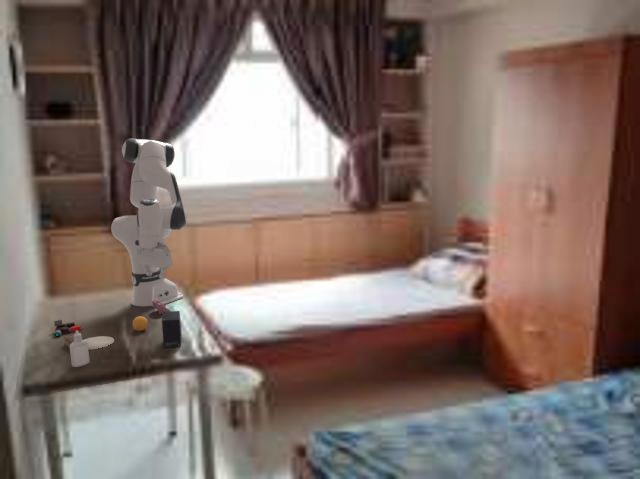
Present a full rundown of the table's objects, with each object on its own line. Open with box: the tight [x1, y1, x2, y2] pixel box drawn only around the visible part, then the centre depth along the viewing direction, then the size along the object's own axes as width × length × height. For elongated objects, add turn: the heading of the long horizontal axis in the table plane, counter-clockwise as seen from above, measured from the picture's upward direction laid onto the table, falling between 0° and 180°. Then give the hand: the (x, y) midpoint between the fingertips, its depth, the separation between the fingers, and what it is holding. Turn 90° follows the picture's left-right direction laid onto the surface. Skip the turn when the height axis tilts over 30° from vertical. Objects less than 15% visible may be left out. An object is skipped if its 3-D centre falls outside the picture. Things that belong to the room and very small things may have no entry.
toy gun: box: [53, 319, 82, 338], centre depth 244 cm, size 10×12×5 cm
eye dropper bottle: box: [69, 330, 90, 368], centre depth 210 cm, size 4×6×12 cm
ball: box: [132, 315, 149, 332], centre depth 242 cm, size 6×6×6 cm
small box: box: [161, 310, 182, 349], centre depth 228 cm, size 11×6×10 cm, turn 12°
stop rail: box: [63, 334, 74, 348], centre depth 226 cm, size 2×14×3 cm, turn 42°
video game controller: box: [151, 299, 171, 315], centre depth 263 cm, size 10×5×7 cm, turn 28°
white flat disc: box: [83, 335, 115, 351], centre depth 231 cm, size 13×13×1 cm
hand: (155, 277), depth 243 cm, fingers open, 8 cm apart
